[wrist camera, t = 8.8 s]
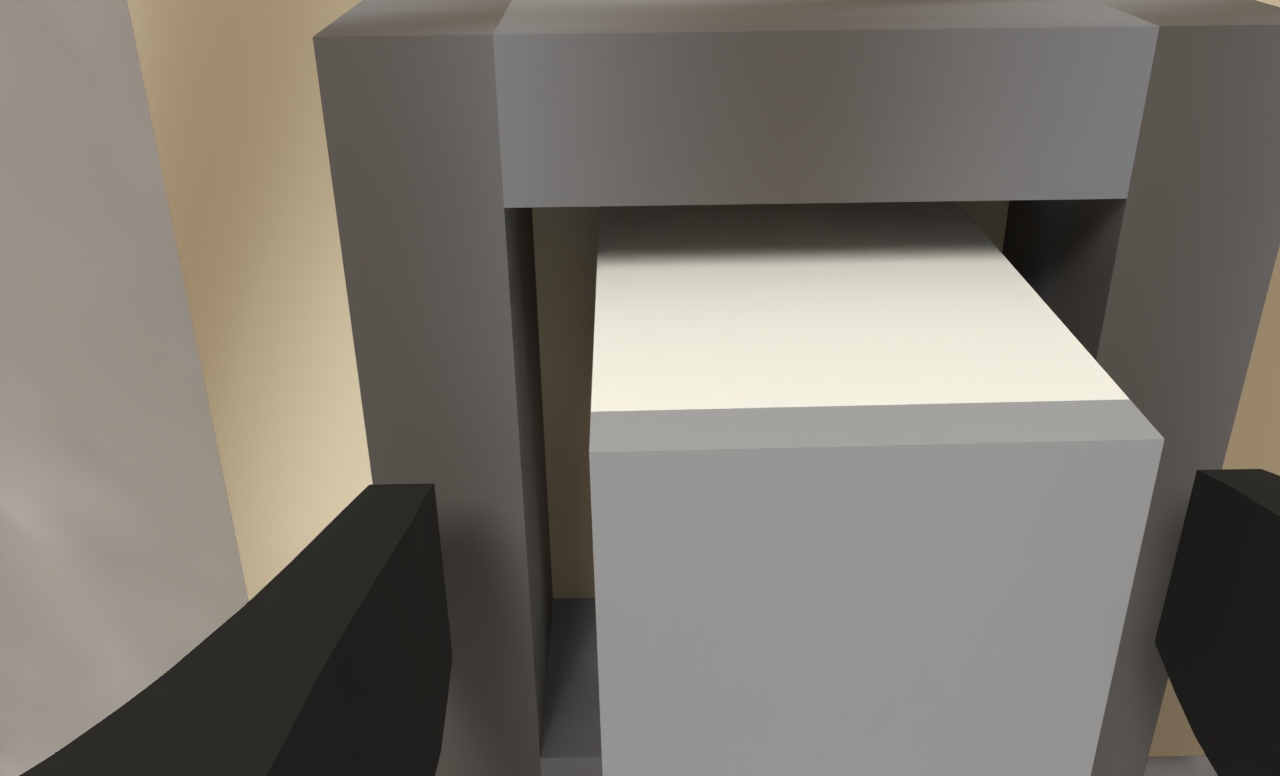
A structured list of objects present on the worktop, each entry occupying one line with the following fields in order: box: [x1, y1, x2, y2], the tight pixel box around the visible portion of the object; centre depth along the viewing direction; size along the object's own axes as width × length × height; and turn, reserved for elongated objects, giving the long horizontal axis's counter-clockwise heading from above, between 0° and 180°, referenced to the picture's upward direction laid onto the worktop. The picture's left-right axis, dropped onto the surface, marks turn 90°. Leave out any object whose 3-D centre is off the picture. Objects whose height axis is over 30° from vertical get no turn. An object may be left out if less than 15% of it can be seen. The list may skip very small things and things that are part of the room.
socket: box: [127, 0, 1280, 776], centre depth 13 cm, size 14×13×4 cm
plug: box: [589, 201, 1164, 776], centre depth 12 cm, size 4×5×6 cm
